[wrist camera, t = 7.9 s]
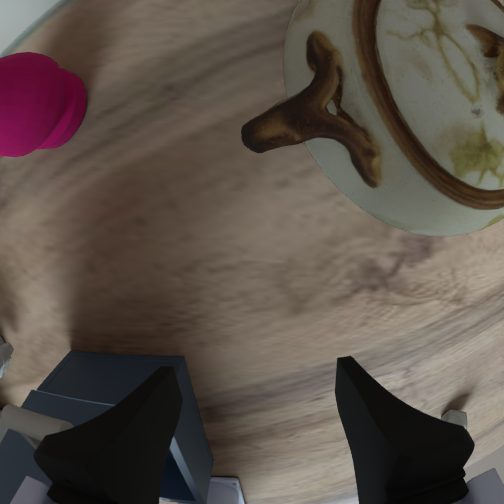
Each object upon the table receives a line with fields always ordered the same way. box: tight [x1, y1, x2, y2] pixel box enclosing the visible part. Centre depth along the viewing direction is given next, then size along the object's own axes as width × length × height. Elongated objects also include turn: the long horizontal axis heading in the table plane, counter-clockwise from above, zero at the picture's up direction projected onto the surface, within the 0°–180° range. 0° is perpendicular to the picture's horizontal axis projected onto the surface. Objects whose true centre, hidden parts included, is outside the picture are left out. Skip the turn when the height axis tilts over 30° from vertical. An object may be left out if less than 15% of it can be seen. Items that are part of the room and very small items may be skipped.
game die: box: [441, 409, 467, 430], centre depth 24 cm, size 4×4×3 cm
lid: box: [0, 390, 113, 504], centre depth 10 cm, size 15×12×4 cm
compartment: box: [37, 351, 214, 504], centre depth 23 cm, size 15×12×6 cm
